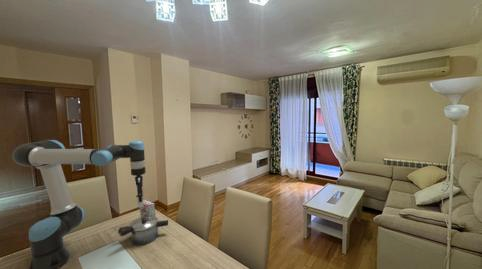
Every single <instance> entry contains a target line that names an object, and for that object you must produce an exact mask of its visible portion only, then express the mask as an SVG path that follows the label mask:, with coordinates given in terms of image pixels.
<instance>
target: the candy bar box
mask: <svg viewBox="0 0 482 269" xmlns="http://www.w3.org/2000/svg"><path fill="white" fill-rule="evenodd" d="M143 206H144V207H139V214H140V218H141V217H144V216H155V217H156V209H155V208H156V207H155V206H156V205H155V203H154V202H151V201H149V200H147V199H143Z"/></svg>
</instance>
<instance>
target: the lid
mask: <svg viewBox="0 0 482 269" xmlns="http://www.w3.org/2000/svg"><path fill="white" fill-rule="evenodd" d="M157 222H159V220H158V218H157V217H156V215H155V216H144V217H141V216H140V217H138V218H136V219H134V220H133V221H131V223H130V224H129V226H130V227H128V228H126V229H124V230H122V231H120V232H119V233H118V234H119V236H121V237H123V236H124V237H125V236H126V235H127V234H131V232H132V231H135V232H140V231H145V230H148V229H150V228H152V227H154V226H155V225H156V224H157Z"/></svg>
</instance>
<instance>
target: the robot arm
mask: <svg viewBox="0 0 482 269" xmlns="http://www.w3.org/2000/svg"><path fill="white" fill-rule="evenodd" d="M11 154H12V155H11V157H12V160H13V161H14V162H15V164H17V165H19V166H22V167H35V169H37V170H39V171H40V173H41V177H42V180H43V184H44V186H45V189H46V192H47V195H48V198H49V202H50V204H51V207H52V210H51V212H50V216H49V217H47V218H44V219H43V220H38V221H37V222H36V223H34V224H33V225H32V226H31V227H30V228H29V230H28V240H29V245H30V250H31V256H32V257H31V261H30V264H29V267H28V269H56V268H58V267H60V266H62V265H63V264H64V265H65V264H67V262H69V260H70V258H69V257H70V252H69V251H68V249H67V248H66V247H65V245H64V237H65V236H66V235H68V234H70V232H71V231H73V230H74V229H75V228H77V227H78V226H80V224H81V223H82V222H83V221H84V219H85V215H86V214H85V210H84V209H83V208H82V207H81V206H80V205H78V204H77V203H75V202H73V199H72V196H71V192H70V190H69V187H68V183H67V180H66V176H65V174H64V171H63V167H62V165H94V166H96V167H103V166H107V165H109V164H111V163H112V162H115V161H117V160H120V159H129V163H130V164H129V165H130V174H131V176H133V177H134V181H135V186H136V192H137V193H136V194H137V195H136V196H135V197H136V198H137V207H138V208H139V209H140V207H144V206H143V201H144V194H143V186H144V185H143V178H144V177H143V175H146V163H147V161H146V160H145V156H146V155H145V146H144V141H143V140H134V141H133V140H132V141H129V142H128V144H111V145H108V146H107V147H106V148H104V149H101V148H99V149H98V148H97V149H96V148H95V149H94V148H87V149H86V148H66V147H65V145H64V144H63V143H62V142H60V141H58V140H56V139H46V140H45V139H44V140H41V141H40V140H39V141H35V142H27V143H24V144H21V145H19V146H17V147H16V148H15V149H14V150H13V152H12V153H11ZM68 259H69V260H68ZM64 265H63V266H64ZM63 266H62V267H63ZM60 268H61V267H60ZM58 269H59V268H58Z"/></svg>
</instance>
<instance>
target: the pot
mask: <svg viewBox="0 0 482 269" xmlns="http://www.w3.org/2000/svg"><path fill="white" fill-rule="evenodd" d="M166 226H169V220H167V219H166V220H161V221H159V220H158V222H157V224H156V225H155V226H154V227H152V228H150V229H148V230H145V231H140V232H135V231H132V232H130V238H131V244H132V245H133V246H136V247H142V246H143V247H144V246H146V245H149V244H151V243H153V242H154V241H155V240H156V239H158V236H159V228H161V227H166ZM128 227H130V225H129V226H128V225H127V226H123V227H119V229H118V234H119V232H120V231H122V230H124V229H126V228H128Z"/></svg>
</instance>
